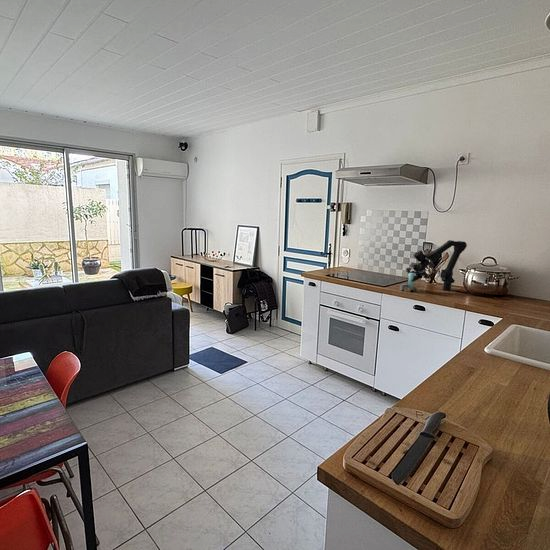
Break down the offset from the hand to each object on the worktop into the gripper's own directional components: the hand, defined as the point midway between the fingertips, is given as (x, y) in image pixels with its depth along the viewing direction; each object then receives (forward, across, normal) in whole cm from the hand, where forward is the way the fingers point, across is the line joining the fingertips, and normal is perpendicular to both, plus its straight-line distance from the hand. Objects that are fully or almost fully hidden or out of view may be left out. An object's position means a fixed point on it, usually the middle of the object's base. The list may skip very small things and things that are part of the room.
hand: (409, 280), depth 267 cm
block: (+5, 0, +7) cm, 8 cm away
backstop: (+5, -5, +6) cm, 9 cm away
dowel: (+4, 0, +6) cm, 7 cm away
